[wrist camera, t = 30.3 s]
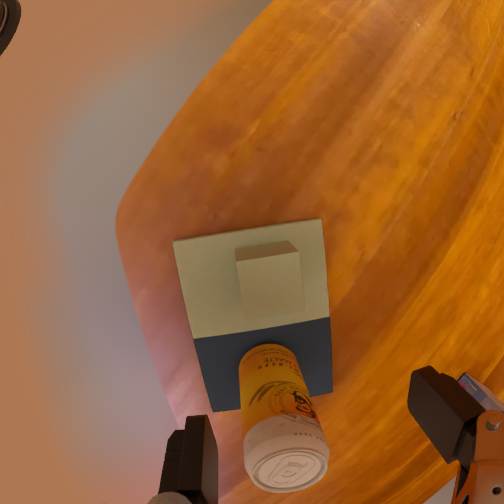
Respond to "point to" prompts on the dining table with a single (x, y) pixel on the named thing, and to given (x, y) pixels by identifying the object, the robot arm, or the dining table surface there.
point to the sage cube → (270, 279)
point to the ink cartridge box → (481, 393)
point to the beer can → (279, 422)
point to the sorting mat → (260, 329)
